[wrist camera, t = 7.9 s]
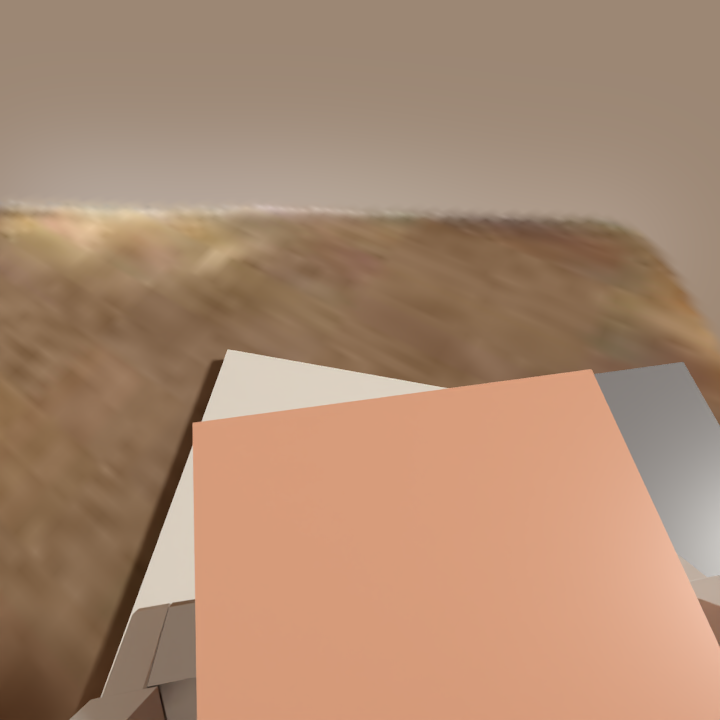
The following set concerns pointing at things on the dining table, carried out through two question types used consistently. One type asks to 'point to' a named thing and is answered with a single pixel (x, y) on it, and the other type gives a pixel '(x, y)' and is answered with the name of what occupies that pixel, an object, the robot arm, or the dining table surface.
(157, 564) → the baseplate
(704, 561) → the foundation block
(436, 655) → the pillar block
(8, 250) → the dining table surface
